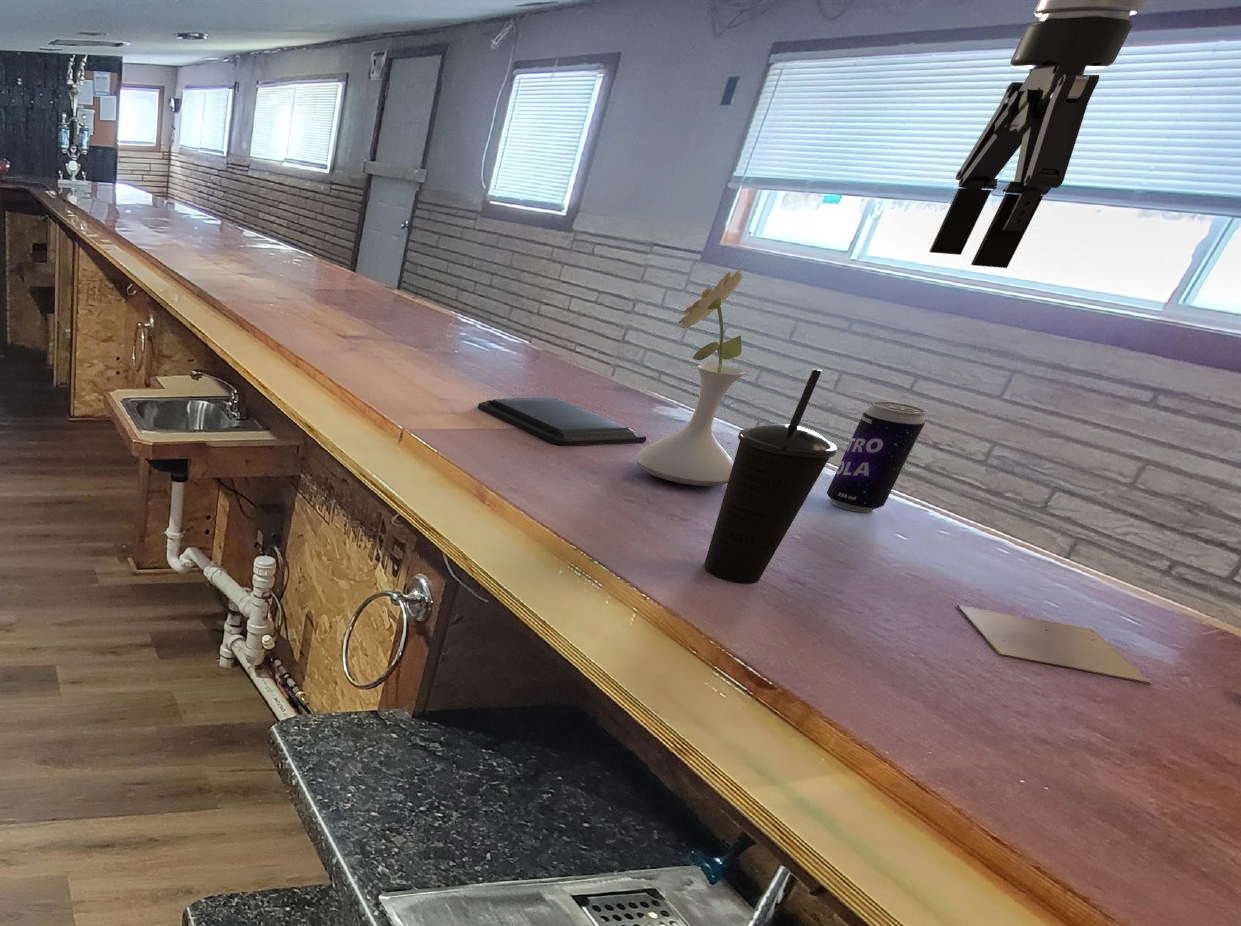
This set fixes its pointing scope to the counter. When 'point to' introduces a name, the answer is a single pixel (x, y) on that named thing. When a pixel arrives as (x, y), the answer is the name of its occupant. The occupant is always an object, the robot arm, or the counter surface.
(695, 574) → the counter surface
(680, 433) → the flower in vase
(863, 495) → the beverage can
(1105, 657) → the cork pad
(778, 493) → the drinking cup
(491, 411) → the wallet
